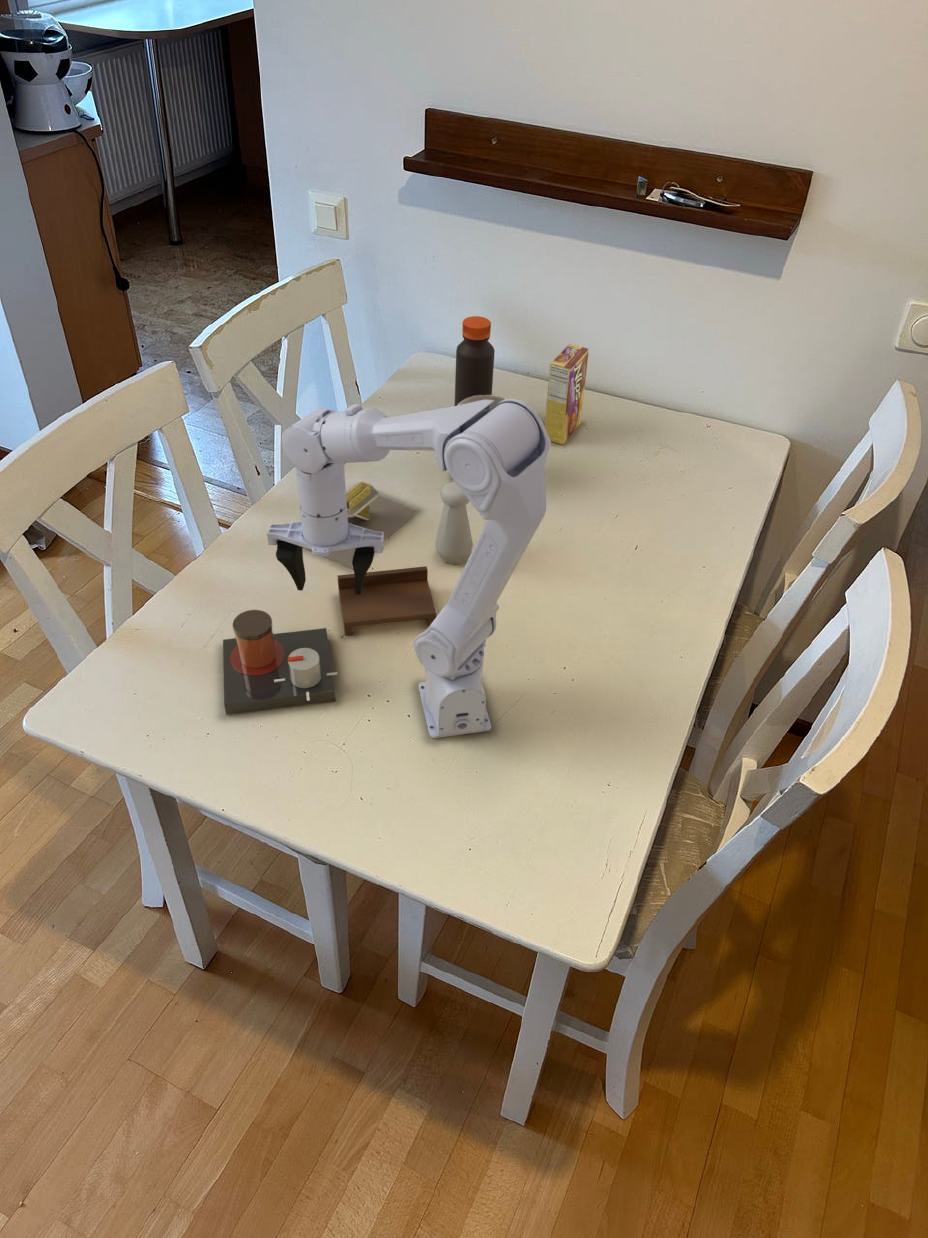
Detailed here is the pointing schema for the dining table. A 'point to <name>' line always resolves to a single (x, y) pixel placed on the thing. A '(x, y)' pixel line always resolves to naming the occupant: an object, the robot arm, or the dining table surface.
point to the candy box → (566, 393)
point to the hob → (278, 677)
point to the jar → (254, 638)
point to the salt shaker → (454, 526)
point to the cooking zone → (263, 670)
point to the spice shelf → (386, 598)
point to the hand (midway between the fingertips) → (330, 587)
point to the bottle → (474, 360)
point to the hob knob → (304, 668)
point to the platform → (371, 516)
